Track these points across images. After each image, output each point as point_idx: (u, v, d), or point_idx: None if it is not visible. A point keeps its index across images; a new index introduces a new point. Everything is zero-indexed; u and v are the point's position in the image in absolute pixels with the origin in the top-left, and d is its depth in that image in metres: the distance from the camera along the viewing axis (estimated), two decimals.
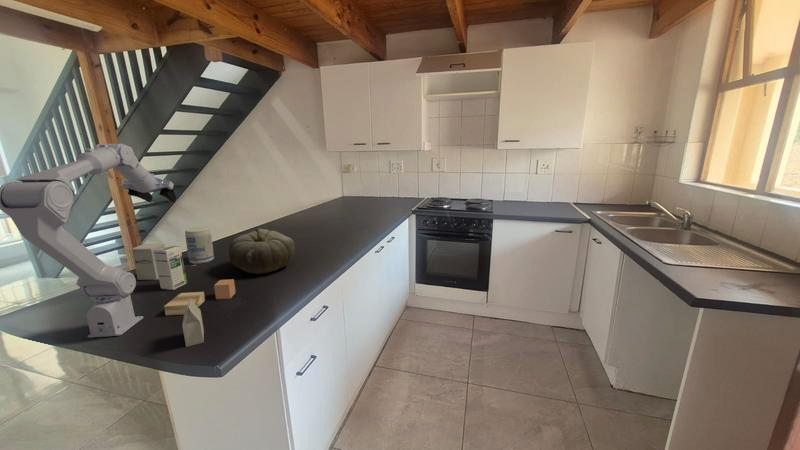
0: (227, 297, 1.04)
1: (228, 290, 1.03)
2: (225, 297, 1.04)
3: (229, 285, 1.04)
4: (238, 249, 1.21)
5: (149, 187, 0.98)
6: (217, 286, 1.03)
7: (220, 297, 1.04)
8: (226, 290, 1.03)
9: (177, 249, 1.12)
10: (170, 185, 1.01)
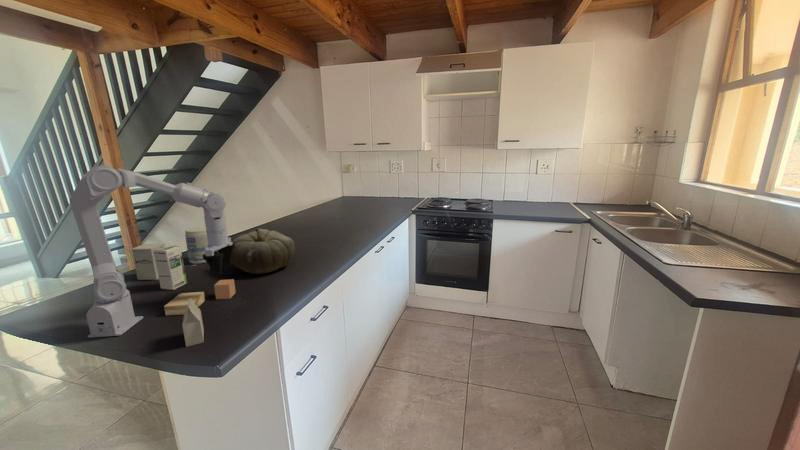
0: (227, 297, 1.04)
1: (228, 290, 1.03)
2: (225, 297, 1.04)
3: (229, 285, 1.04)
4: (238, 249, 1.21)
5: (209, 243, 0.99)
6: (217, 286, 1.03)
7: (220, 297, 1.04)
8: (226, 290, 1.03)
9: (177, 249, 1.12)
10: (207, 251, 0.95)
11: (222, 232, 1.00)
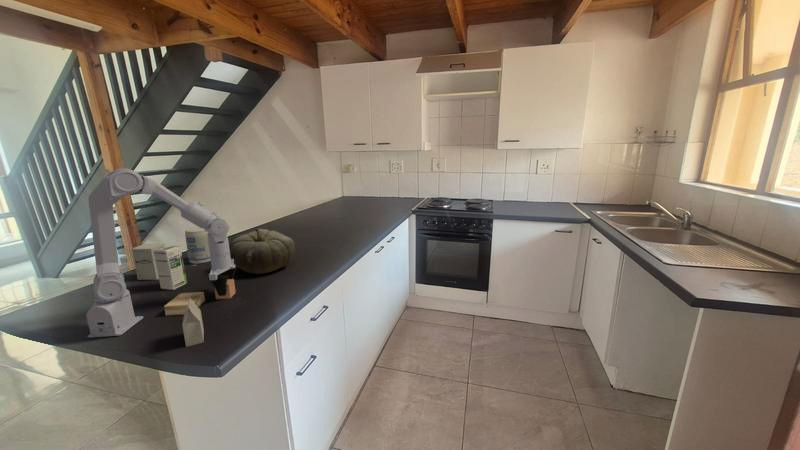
0: (227, 297, 1.04)
1: (228, 290, 1.03)
2: (225, 297, 1.04)
3: (229, 285, 1.04)
4: (238, 249, 1.21)
5: (212, 267, 1.01)
6: None
7: (220, 297, 1.04)
8: None
9: (177, 249, 1.12)
10: (210, 276, 0.97)
11: (225, 255, 1.01)
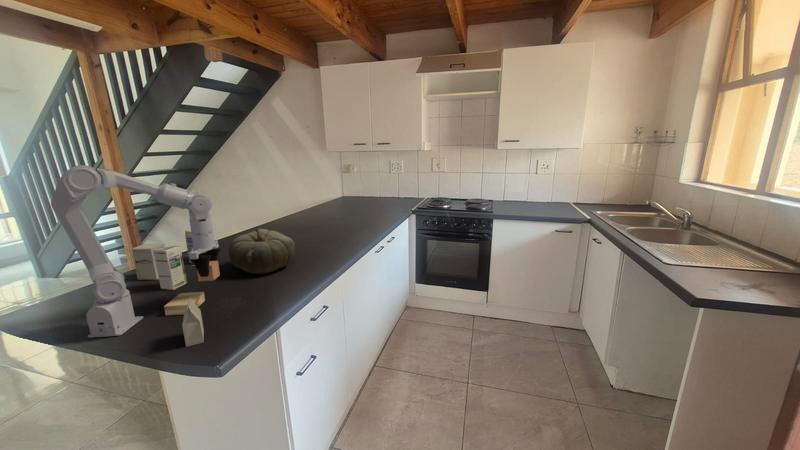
0: (210, 279, 0.99)
1: (211, 271, 0.99)
2: (208, 279, 0.99)
3: (212, 266, 0.99)
4: (238, 249, 1.21)
5: (194, 246, 0.97)
6: None
7: (203, 278, 0.99)
8: (209, 272, 0.99)
9: (177, 249, 1.12)
10: (191, 254, 0.92)
11: (208, 234, 0.97)
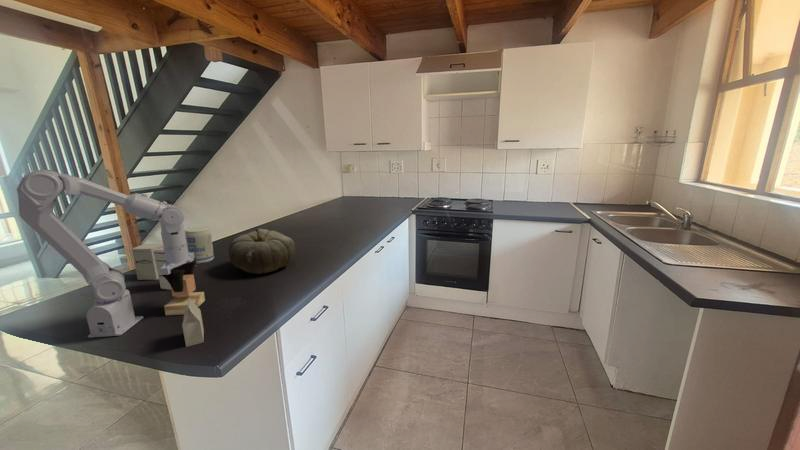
0: (185, 294, 0.95)
1: (185, 286, 0.94)
2: (183, 294, 0.95)
3: (187, 281, 0.95)
4: (238, 249, 1.21)
5: (166, 260, 0.92)
6: None
7: (177, 293, 0.95)
8: (184, 287, 0.94)
9: None
10: (162, 270, 0.88)
11: (181, 248, 0.92)
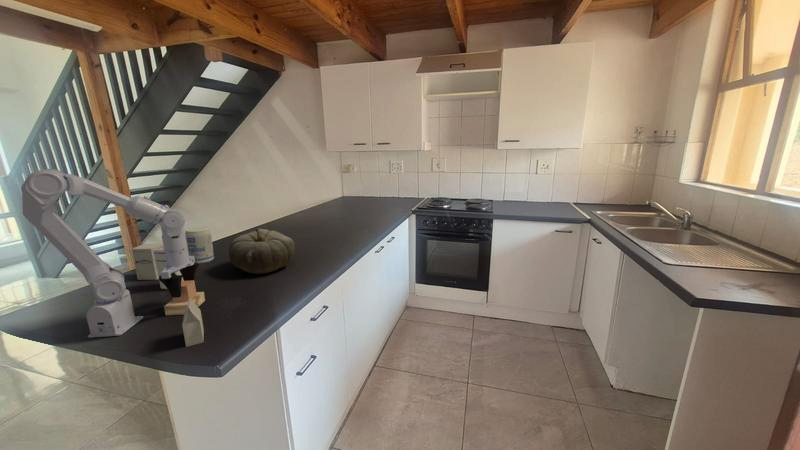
0: (185, 300, 0.95)
1: (186, 292, 0.95)
2: (184, 300, 0.95)
3: (188, 287, 0.95)
4: (238, 249, 1.21)
5: (167, 264, 0.92)
6: None
7: (178, 300, 0.95)
8: (185, 293, 0.95)
9: None
10: (163, 274, 0.88)
11: (181, 252, 0.93)
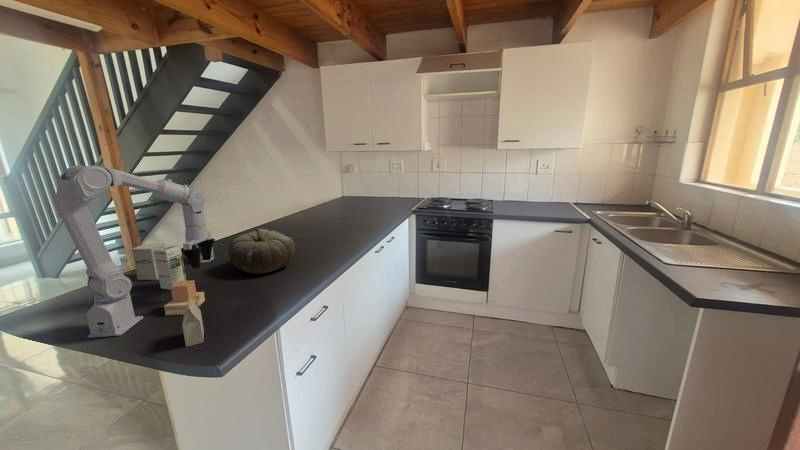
0: (185, 300, 0.95)
1: (186, 292, 0.95)
2: (184, 300, 0.95)
3: (188, 287, 0.95)
4: (238, 249, 1.21)
5: (187, 237, 1.02)
6: (174, 288, 0.94)
7: (178, 300, 0.95)
8: (185, 293, 0.95)
9: (177, 249, 1.12)
10: (185, 245, 0.97)
11: (201, 226, 1.02)
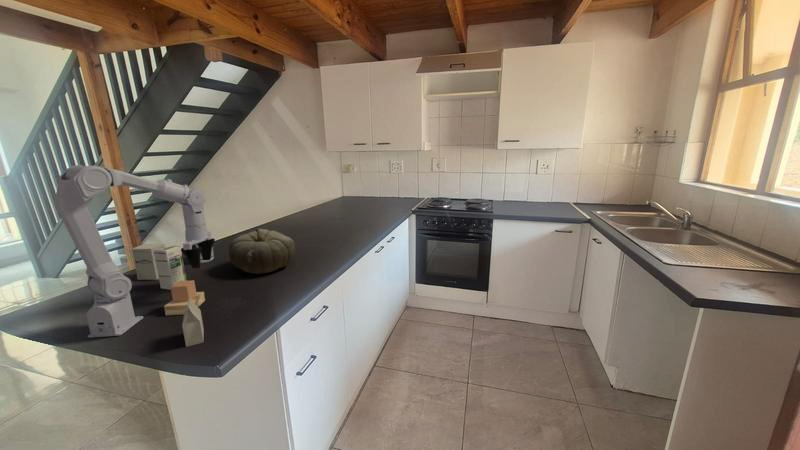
0: (185, 300, 0.95)
1: (186, 292, 0.95)
2: (184, 300, 0.95)
3: (188, 287, 0.95)
4: (238, 249, 1.21)
5: (187, 237, 1.02)
6: (174, 288, 0.94)
7: (178, 300, 0.95)
8: (185, 293, 0.95)
9: (177, 249, 1.12)
10: (185, 245, 0.97)
11: (201, 226, 1.02)
